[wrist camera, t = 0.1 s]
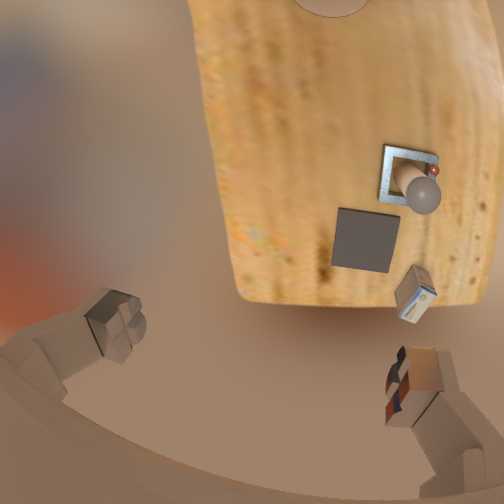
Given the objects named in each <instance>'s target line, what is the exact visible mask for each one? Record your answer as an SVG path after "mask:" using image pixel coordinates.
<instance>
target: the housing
mask: <svg viewBox="0 0 504 504" xmlns="http://www.w3.org/2000/svg"><path fill="white" fill-rule="evenodd" d="M393 156H396V157H402V158H407V159H412V160H418V161H423V162H426V167H425V175H426V176H427V177H428V178H431V179H432V180H433V181H434V182H435V179H436V175H438V174H439V168H438V167H437V166H438V159H439V156H437V155H436V154H432V153H428V152H423V151H418V150H413V149H408V148H402V147H397V146H391V145H385V144H384V145H383V155H382V164H381V173H380V181H379V188H378V195H377V198H378V201H379V202H385V203H391V204H398V205H404V206H409V204H408V203H407V200H406V197H405V196H404V194H402V193H396V192H390V191H389V185H390V177H391V170H392V161H393Z"/></svg>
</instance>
